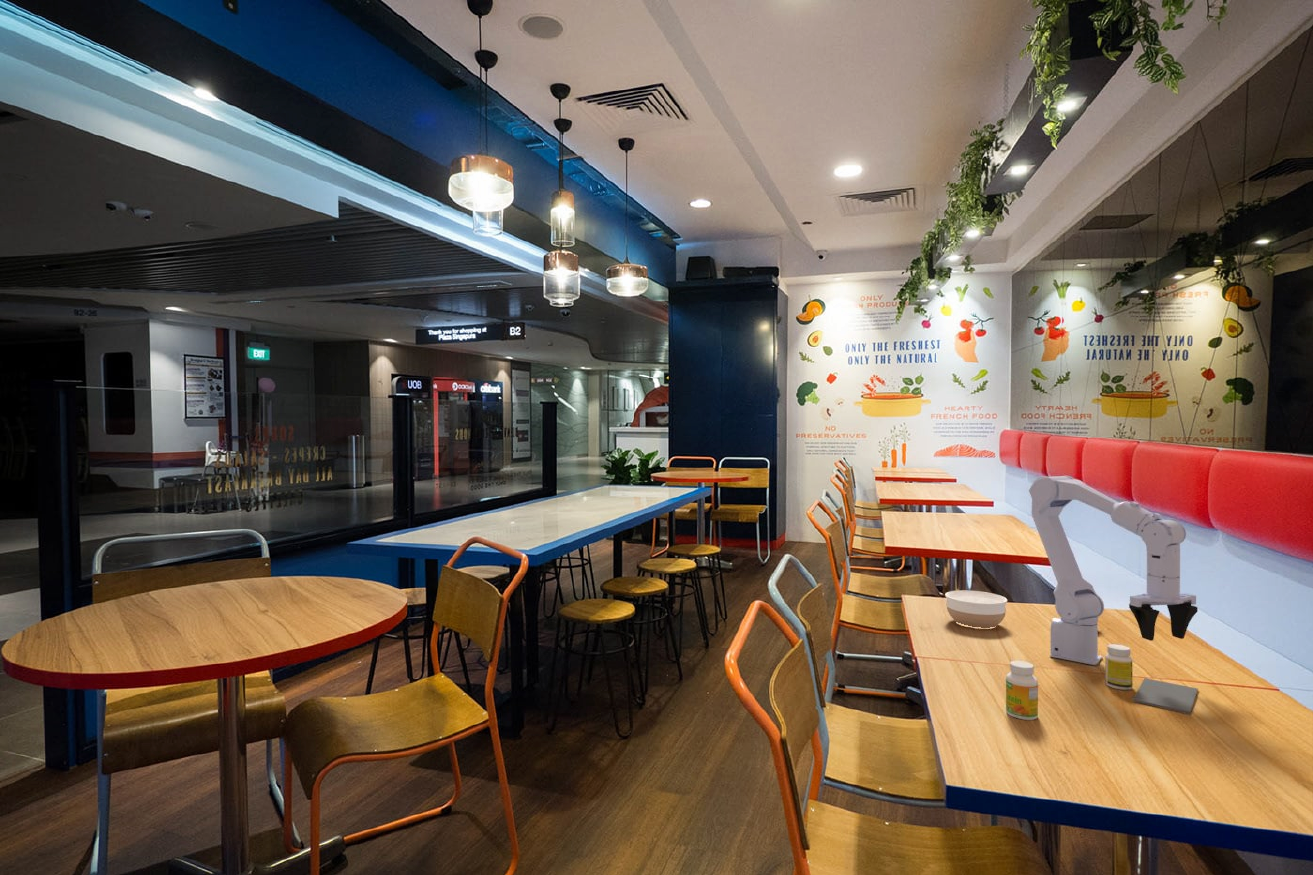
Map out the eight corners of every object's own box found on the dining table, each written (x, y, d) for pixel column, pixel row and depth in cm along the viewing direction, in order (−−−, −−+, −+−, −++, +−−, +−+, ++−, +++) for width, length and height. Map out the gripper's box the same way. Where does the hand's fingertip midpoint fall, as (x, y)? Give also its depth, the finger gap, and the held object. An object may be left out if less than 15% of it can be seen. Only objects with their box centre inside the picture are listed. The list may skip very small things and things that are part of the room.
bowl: (953, 631, 181) (953, 602, 181) (938, 615, 197) (938, 589, 197) (1016, 633, 179) (1016, 604, 179) (996, 618, 194) (996, 591, 194)
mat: (1132, 701, 132) (1132, 699, 132) (1144, 680, 144) (1144, 677, 144) (1190, 714, 126) (1190, 711, 126) (1197, 690, 138) (1197, 688, 138)
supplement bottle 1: (999, 711, 128) (999, 661, 128) (1019, 707, 130) (1018, 657, 130) (1024, 722, 123) (1024, 670, 123) (1044, 717, 125) (1044, 666, 125)
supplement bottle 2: (1137, 691, 138) (1136, 651, 138) (1111, 689, 139) (1111, 649, 139) (1125, 683, 143) (1125, 644, 143) (1101, 681, 144) (1101, 642, 144)
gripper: (1150, 580, 137) (1150, 645, 137) (1210, 578, 140) (1209, 642, 140) (1121, 573, 144) (1121, 635, 144) (1178, 571, 146) (1178, 632, 147)
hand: (1162, 638), depth 142 cm, fingers open, 7 cm apart
